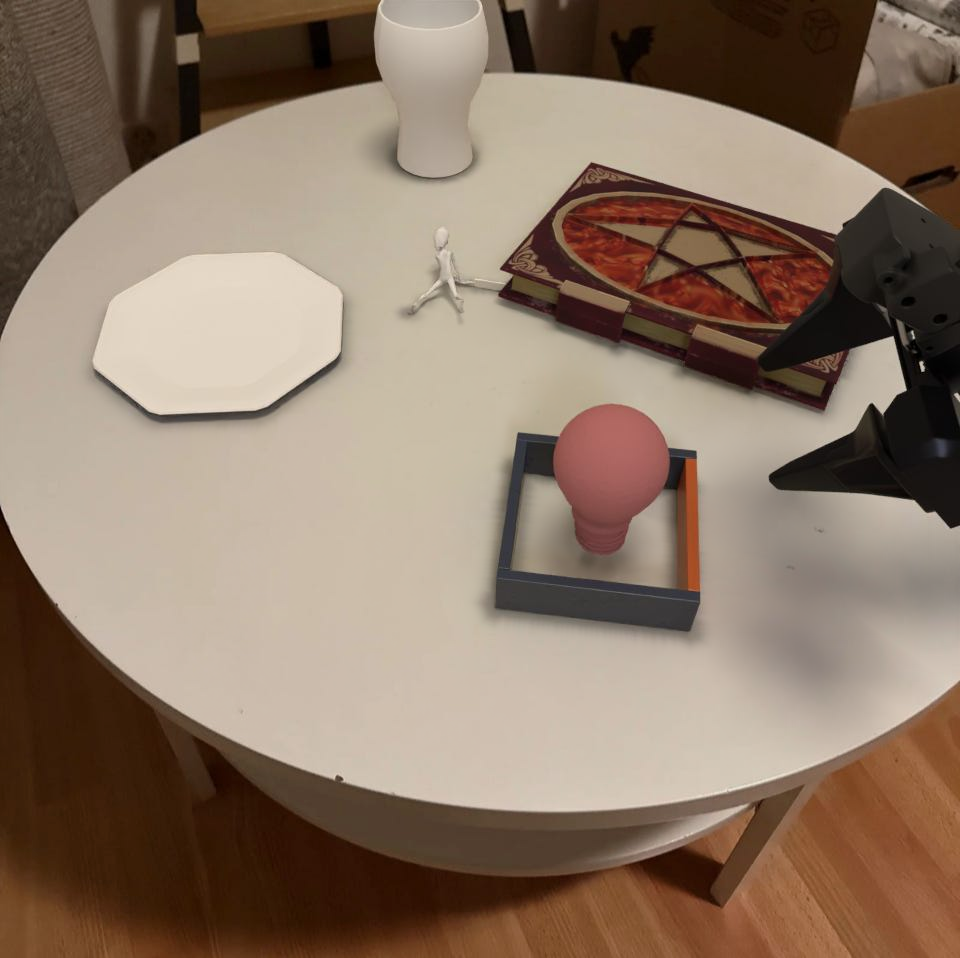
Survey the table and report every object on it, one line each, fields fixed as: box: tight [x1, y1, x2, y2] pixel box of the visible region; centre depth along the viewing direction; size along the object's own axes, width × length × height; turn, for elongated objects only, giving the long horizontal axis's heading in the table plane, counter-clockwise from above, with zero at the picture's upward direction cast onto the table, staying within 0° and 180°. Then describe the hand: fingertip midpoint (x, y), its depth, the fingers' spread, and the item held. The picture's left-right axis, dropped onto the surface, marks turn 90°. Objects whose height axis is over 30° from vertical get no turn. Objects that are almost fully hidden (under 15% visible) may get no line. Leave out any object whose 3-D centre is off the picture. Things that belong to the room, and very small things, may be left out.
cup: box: [373, 0, 490, 179], centre depth 89 cm, size 11×11×15 cm
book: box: [497, 161, 851, 412], centre depth 79 cm, size 28×21×5 cm
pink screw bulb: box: [553, 403, 670, 556], centre depth 59 cm, size 7×7×12 cm
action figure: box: [407, 226, 508, 315], centre depth 79 cm, size 12×5×7 cm
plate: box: [91, 251, 344, 417], centre depth 77 cm, size 20×20×2 cm
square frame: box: [494, 431, 701, 632], centre depth 62 cm, size 13×13×4 cm
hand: (766, 421), depth 52 cm, fingers open, 9 cm apart
